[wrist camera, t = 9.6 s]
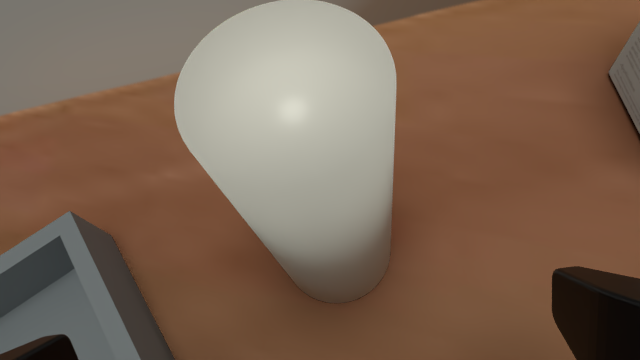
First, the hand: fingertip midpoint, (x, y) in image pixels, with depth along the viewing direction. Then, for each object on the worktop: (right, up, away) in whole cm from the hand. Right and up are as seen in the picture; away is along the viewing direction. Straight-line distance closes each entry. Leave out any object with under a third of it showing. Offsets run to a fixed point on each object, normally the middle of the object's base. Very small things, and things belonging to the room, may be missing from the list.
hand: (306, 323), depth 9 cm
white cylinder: (+1, -1, +14) cm, 14 cm away
